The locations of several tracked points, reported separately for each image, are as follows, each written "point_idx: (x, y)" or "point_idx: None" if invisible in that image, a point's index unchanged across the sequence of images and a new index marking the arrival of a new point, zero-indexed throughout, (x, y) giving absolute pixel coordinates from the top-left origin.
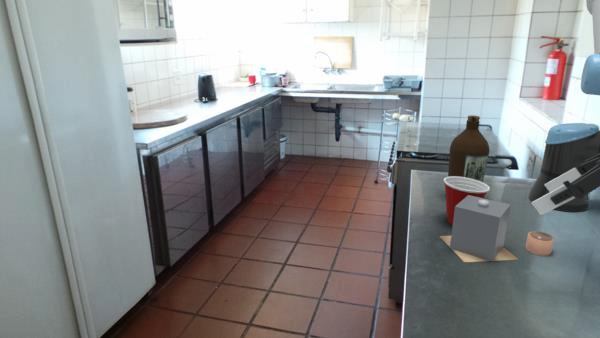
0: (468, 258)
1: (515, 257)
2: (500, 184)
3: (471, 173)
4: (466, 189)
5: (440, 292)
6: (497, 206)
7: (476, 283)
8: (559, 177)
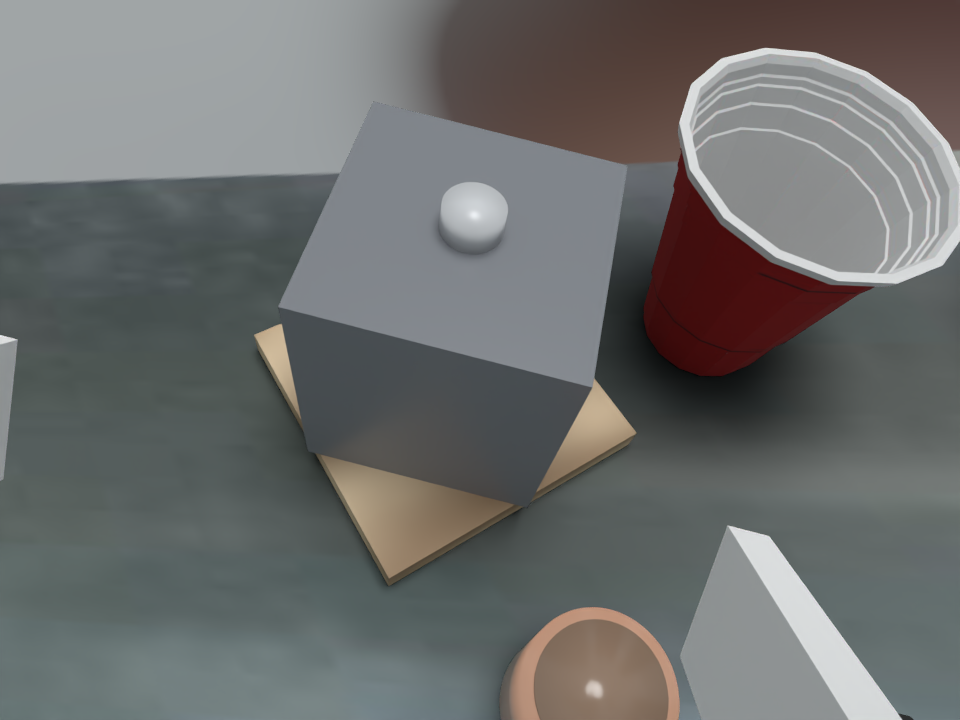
0: None
1: (405, 563)
2: None
3: None
4: (885, 220)
5: (5, 275)
6: (499, 305)
7: (118, 399)
8: (790, 645)
